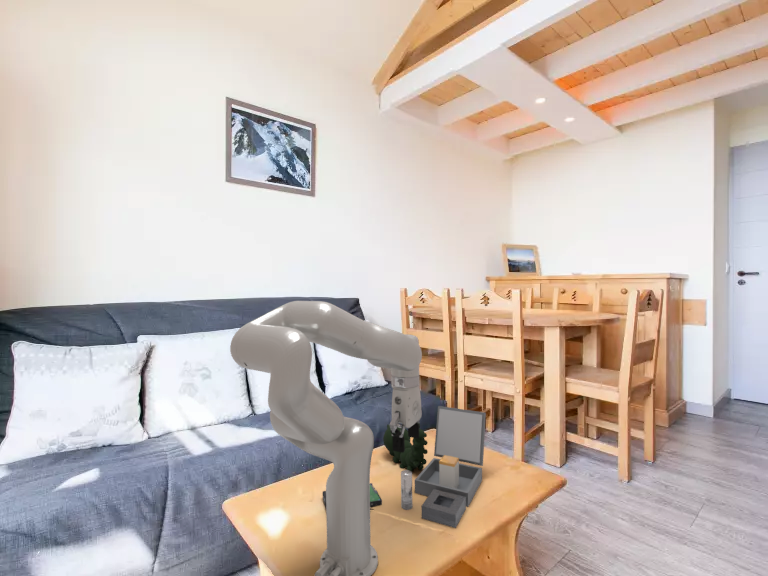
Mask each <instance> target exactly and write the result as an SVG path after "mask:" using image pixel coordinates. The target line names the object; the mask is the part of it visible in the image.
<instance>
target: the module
mask: <svg viewBox="0 0 768 576" xmlns="http://www.w3.org/2000/svg"><path fill="white" fill-rule="evenodd" d="M440 458H441V460H440V461H439V479H440V485H443V486H447V487H451V488H456V489H457V487H458V485H459V463H460V461H459V458H457V457H452V456H447V455H444V456H443V457H440Z"/></svg>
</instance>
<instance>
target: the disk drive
mask: <svg viewBox="0 0 768 576" xmlns="http://www.w3.org/2000/svg"><path fill="white" fill-rule="evenodd" d="M322 501H323V504H324V508H325V509H326V490H322ZM382 505H383V499H382V498H381V496H380V494H379V491H377V489H376V488H375V486H374V485H373V483H372V482H370V511H373V510H375V508H374V507H378V506H382Z"/></svg>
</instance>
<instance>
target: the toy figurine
mask: <svg viewBox="0 0 768 576" xmlns="http://www.w3.org/2000/svg"><path fill="white" fill-rule="evenodd" d="M417 424H419V438H418V439H417V438H412V443H411V437H409V436H408V428H406V427H405V430H404V434H403V437H404V438H405V451H404V452H403V453H402V452H397V451H393V437H392V433H391V429H390V424H387V425H386V428H387V429H386V430H385V432H384V434H383V438H382V440H383V445H384V447H385V448H386V450H387V451H388V452H389V454H390V456H392V461H393V463H395V464H399V463H400V464H399V469H404V470H405V469H406V470H409V471H411V472H412V473H413V471H414V469H418V470H419V471H423V470H424V468H425V467H424V466H425V465H427V459H426V458H425V455H426V454H428V453H429V452H428V450H427V449H426V448H425V446H427V445H428V441H427V440H426V439H425V438H426V437H427V436H428V434H427V432H425V431H424V430H423V429H421V424H420V422H419V423H417ZM397 429H398V430H399V431H401V428H398V427H397Z"/></svg>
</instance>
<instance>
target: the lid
mask: <svg viewBox="0 0 768 576" xmlns="http://www.w3.org/2000/svg"><path fill="white" fill-rule="evenodd" d="M436 415H437V416H436V425H435V426H436V427H435V428H436V430H435V438H434V439H435V441H434V449H433V450H434V453H433V457H436V458H437V457H439V458H442V457H443V456H444V455H447V456H452V457H457V458H459V462H461V463H466V464H471V465H477V466H481V467H483V466H484V451H485V433H486V432H485V431H486V417H487V416H486V415H487V413H486V412H483V411H475V410H470V409H464V408H463V409H462V408H455V407H450V406H442V405H438V406H437V414H436Z"/></svg>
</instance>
